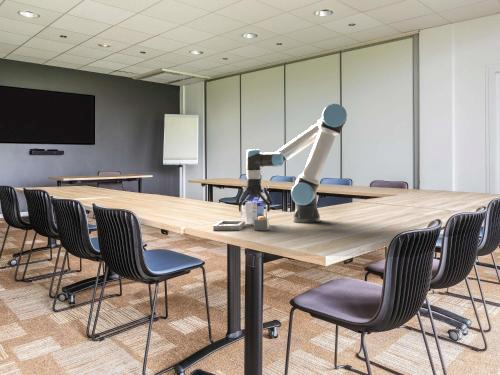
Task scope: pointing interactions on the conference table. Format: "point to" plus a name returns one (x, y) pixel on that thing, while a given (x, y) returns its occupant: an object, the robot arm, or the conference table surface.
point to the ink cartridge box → (253, 210)
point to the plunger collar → (261, 224)
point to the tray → (229, 225)
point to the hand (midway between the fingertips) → (254, 217)
